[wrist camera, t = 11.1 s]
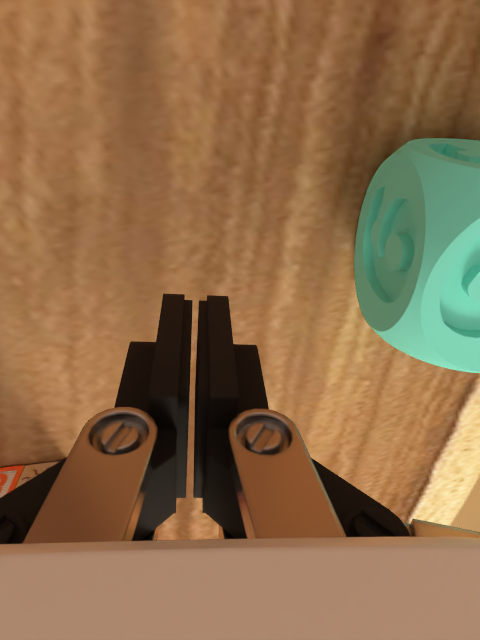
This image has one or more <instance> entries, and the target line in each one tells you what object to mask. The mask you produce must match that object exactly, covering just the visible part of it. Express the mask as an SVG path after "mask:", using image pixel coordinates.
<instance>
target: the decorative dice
mask: <svg viewBox="0 0 480 640" xmlns="http://www.w3.org/2000/svg"><path fill="white" fill-rule="evenodd" d="M354 270H355V285H356V292H357V297H358V302H359V305H360V309H361V311H362V314H363V316H364V318H365V320H366V321H367V323H368V324H369V325H370V327H371V328H372V329H373V330H374V331H375V332H376V333H377V334H378V335H379V336H380V337H381V338H382V339H384V340H385V341H386V342H387V343H389V344H390V345H392V346H393V347H395V348H397V349H398V350H400V351H402V352H404V353H406V354H408V355H410V356H412V357H414V358H417V359H419V360H422V361H424V362H427V363H430V364H433V365H437V366H440V367H444V368H448V369H452V370H457V371H464V372H472V373H480V141H479V140H468V139H452V138H423V139H415V140H411V141H408V142H407V143H406V144H404V145H403V146H402V147H400V148H399V149H398V150H396V151H395V152H394V153H393V154H392V155H390V156H389V157H388V158H387V159H386V160H385V161H384V162H383V163H382V164H381V165H380V167H379V168H378V170H377V171H376V173H375V174H374V176H373V178H372V180H371V182H370V185H369V187H368V189H367V192H366V195H365V198H364V201H363V204H362V208H361V212H360V216H359V221H358V227H357V234H356V242H355V257H354Z"/></svg>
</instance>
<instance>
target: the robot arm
mask: <svg viewBox="0 0 480 640" xmlns="http://www.w3.org/2000/svg"><path fill="white" fill-rule="evenodd" d="M184 297H185V296H184V295H183V294H163V300H162V307H161V314H160V320H159V327H158V334H157V340H156V342H130V345H129V349H128V353H127V357H126V361H125V366H124V370H123V374H122V378H121V382H120V386H119V391H118V395H117V399H116V403H115V407H114V408H112V409H107V410H105V411H103V412H100V413H98V414H96V415H95V416H94V417H92V418H91V419H90V420H88V422H87V423H86V424H85V426H84V427H83V429H82V430H81V432H80V434H79V436H78V438H77V440H76V442H75V444H74V446H73V448H72V450H71V452H70V453H69V455H68V457H66V458H65V459H63V460H61V461H60V462H58V463H56V464H55V465H53V466H52V467H50V468H48V469H47V470H45V471H43V472H42V473H40V474H38V475H37V476H35V477H33V478H32V479H30V480H29V481H27V482H25V483H24V484H22V485H20V486H19V487H17V488H15V489H14V490H12V491H10V492H9V493H7V494H5V495H4V496H2V497H1V498H0V640H480V532H476V531H471V530H466V529H461V528H456V527H451V526H446V525H441V524H436V523H431V522H426V521H421V520H416V519H413V520H412V522H411V524H407V523H403V522H402V521H401V520H400V518H398V517H397V516H396V515H395V514H394V513H392V512H391V511H390V510H389V509H387V508H386V507H384V506H383V505H381V504H380V503H378V502H377V501H375V500H374V499H372V498H371V497H369V496H368V495H366V494H365V493H363V492H362V491H360V490H359V489H357V488H356V487H354V486H353V485H351V484H350V483H348V482H347V481H345V480H344V479H342V478H341V477H339V476H338V475H336V474H335V473H333V472H331V471H330V470H328V469H327V468H325V467H324V466H322V465H321V464H319V463H318V462H316V461H315V460H313V459H312V458H311V457H310V455H309V453H308V451H307V448H306V446H305V444H304V442H303V440H302V437H301V435H300V433H299V431H298V429H297V427H296V426H295V424H294V423H293V422H292V421H291V420H290V419H289V418H287V417H286V416H285V415H283V414H281V413H278V412H276V411H273V410H269V408H268V402H267V397H266V391H265V386H264V381H263V375H262V370H261V365H260V359H259V354H258V349H257V346H256V345H237V344H233V337H232V328H231V319H230V310H229V300H228V296H208V295H207V301H199V313H198V336H197V359H196V382H195V434H194V498H203V513H206V514H207V515H209V516H210V517H211V518H212V519H213V520H214V521H215V522H217V523H218V524H219V538H220V539H209V540H159V541H157V539H158V530H159V525H160V524H162V523H163V522H164V521H165V520H166V519H167V518H169V517H170V516H171V515H172V514H173V513H176V498H186V476H187V448H188V419H189V390H190V360H191V329H192V300H184Z"/></svg>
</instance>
